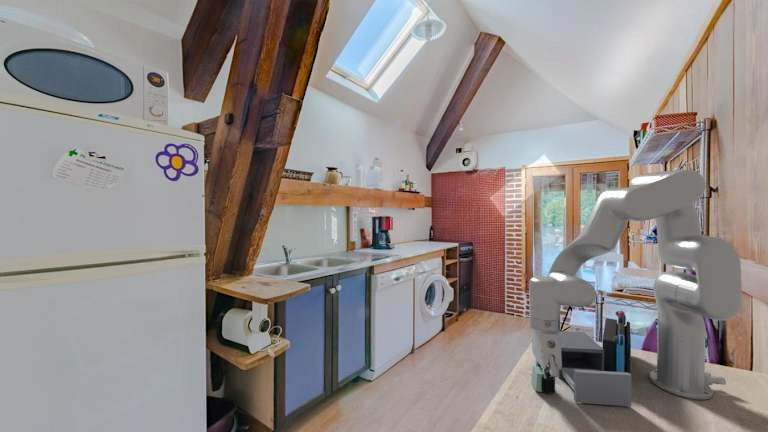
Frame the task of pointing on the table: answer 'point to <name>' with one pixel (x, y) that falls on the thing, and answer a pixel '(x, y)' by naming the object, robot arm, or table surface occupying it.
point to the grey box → (580, 352)
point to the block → (537, 378)
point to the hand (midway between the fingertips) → (545, 386)
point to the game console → (617, 344)
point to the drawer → (599, 386)
